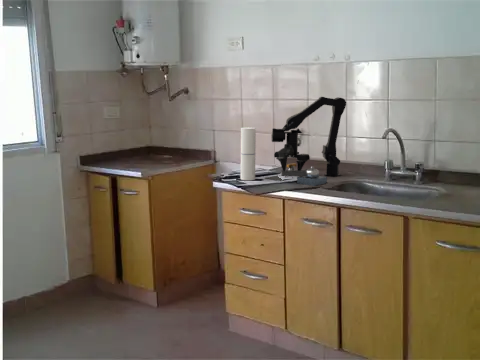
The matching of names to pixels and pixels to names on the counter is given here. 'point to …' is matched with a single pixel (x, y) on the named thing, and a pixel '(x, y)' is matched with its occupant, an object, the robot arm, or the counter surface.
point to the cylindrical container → (248, 153)
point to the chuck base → (312, 180)
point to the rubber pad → (274, 178)
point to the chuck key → (291, 166)
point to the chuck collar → (301, 172)
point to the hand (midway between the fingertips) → (291, 172)
